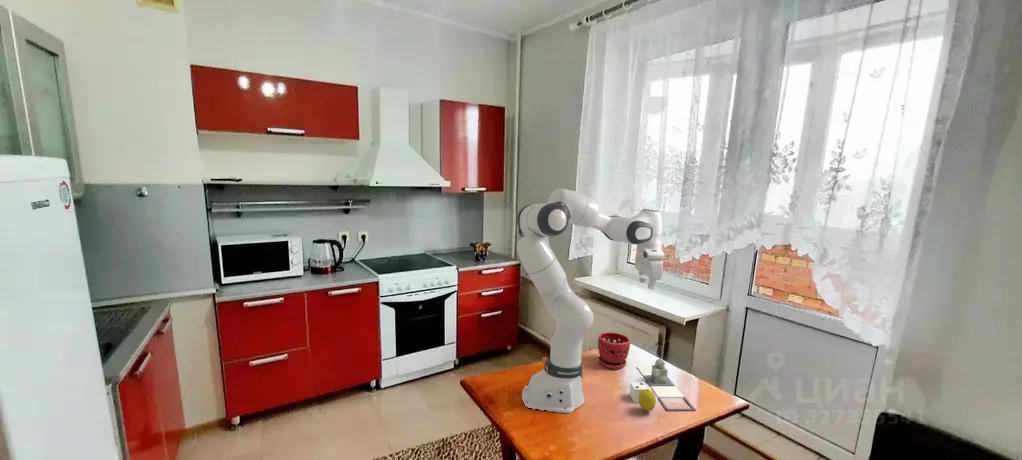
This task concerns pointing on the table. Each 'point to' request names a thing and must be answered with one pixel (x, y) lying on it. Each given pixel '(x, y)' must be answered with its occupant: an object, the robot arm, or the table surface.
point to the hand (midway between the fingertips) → (646, 285)
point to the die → (636, 390)
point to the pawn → (659, 372)
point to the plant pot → (613, 350)
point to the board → (664, 389)
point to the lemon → (647, 400)
